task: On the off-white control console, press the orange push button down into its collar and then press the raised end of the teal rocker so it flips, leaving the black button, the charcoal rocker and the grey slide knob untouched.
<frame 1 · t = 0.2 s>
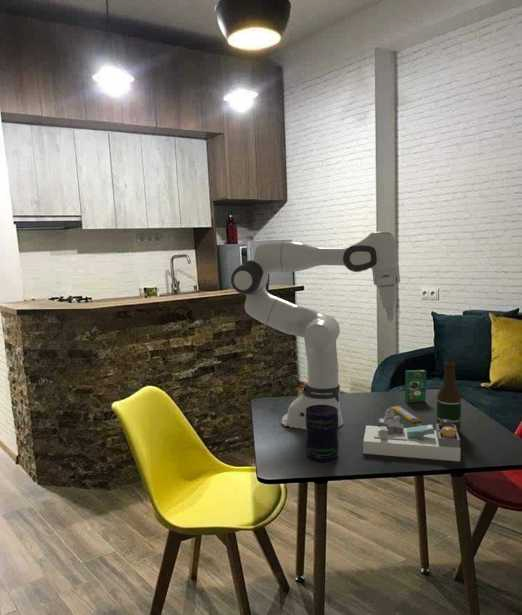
hand: (390, 318, 172), 39 cm above the table, tool pointing down, fingers open, 8 cm apart
beer bottle: (448, 431, 171), on the table
button orange: (448, 432, 150), point 7 cm above the table, slide at 0.0 cm
candy bar: (405, 417, 188), on the table
button black: (446, 424, 157), point 7 cm above the table, slide at 0.0 cm
storage jar: (322, 457, 153), on the table
console: (410, 448, 157), on the table
rocker teal: (420, 430, 156), point 6 cm above the table, hinge at -12.0°
grey rounded piece: (391, 427, 176), on the table
rocker charcoal: (390, 425, 161), point 6 cm above the table, hinge at 12.0°
coffee box: (415, 402, 204), on the table
slide knob: (383, 432, 155), point 6 cm above the table, slide at 0.0 cm
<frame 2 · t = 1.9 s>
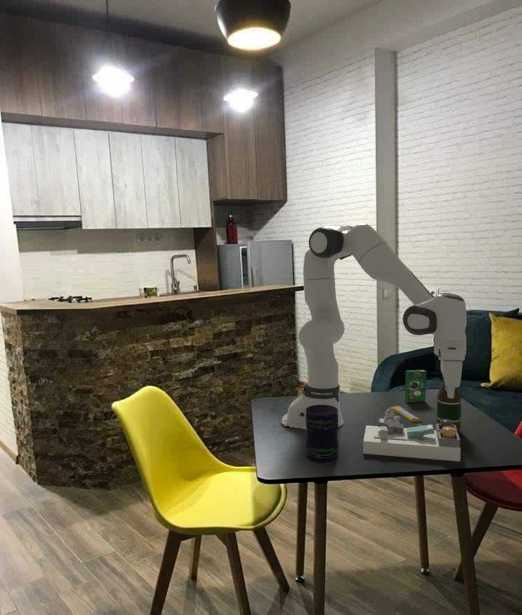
hand: (449, 393, 149), 19 cm above the table, tool pointing down, fingers open, 6 cm apart
nothing on the table moved.
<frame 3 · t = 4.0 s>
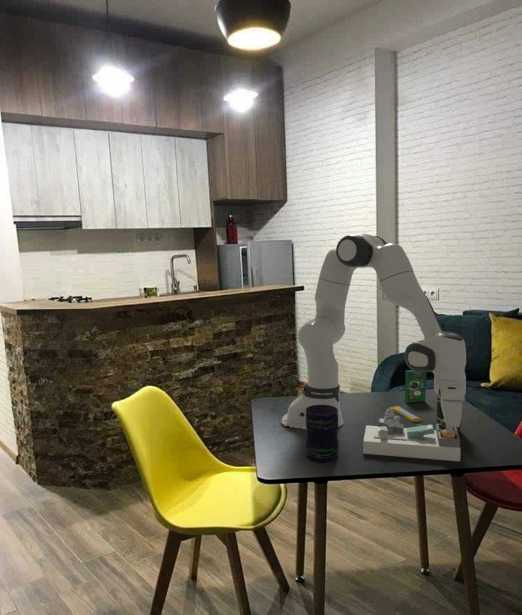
hand: (449, 431, 150), 8 cm above the table, tool pointing down, fingers closed, pressing on button orange
button orange: (448, 435, 150), point 6 cm above the table, slide at 0.9 cm, touching gripper
everything else where it was.
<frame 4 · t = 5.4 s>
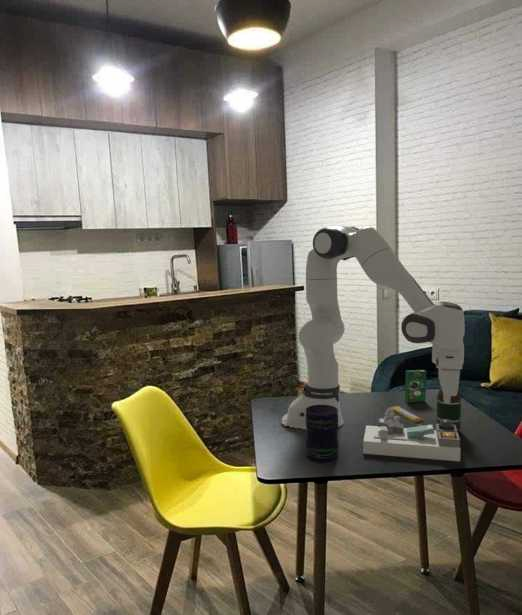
hand: (446, 402, 150), 17 cm above the table, tool pointing down, fingers closed
button orange: (448, 438, 150), point 6 cm above the table, slide at 1.7 cm
everything else where it was.
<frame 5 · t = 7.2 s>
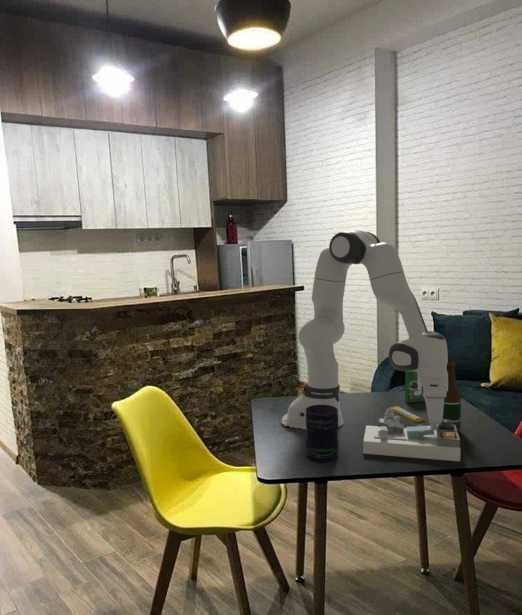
hand: (433, 427, 155), 7 cm above the table, tool pointing down, fingers closed, pressing on rocker teal
rocker teal: (420, 430, 156), point 6 cm above the table, hinge at -7.3°, touching gripper
everything else where it was.
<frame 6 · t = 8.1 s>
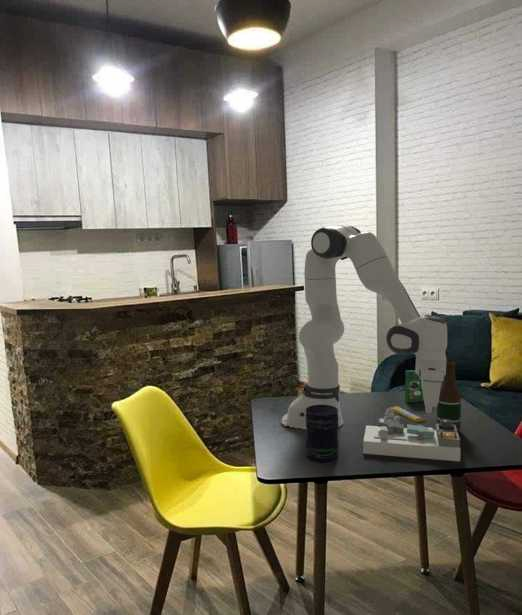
hand: (428, 411, 155), 12 cm above the table, tool pointing down, fingers closed
rocker teal: (420, 430, 156), point 6 cm above the table, hinge at 5.1°
everything else where it was.
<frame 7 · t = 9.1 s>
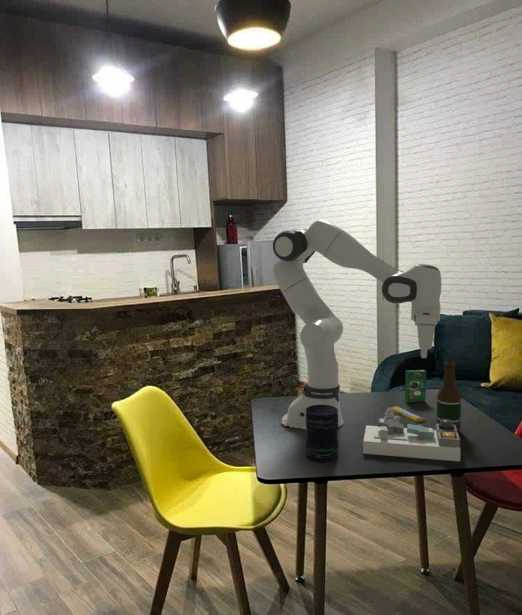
hand: (423, 357, 162), 28 cm above the table, tool pointing down, fingers closed
rocker teal: (420, 430, 156), point 6 cm above the table, hinge at 8.1°
everything else where it was.
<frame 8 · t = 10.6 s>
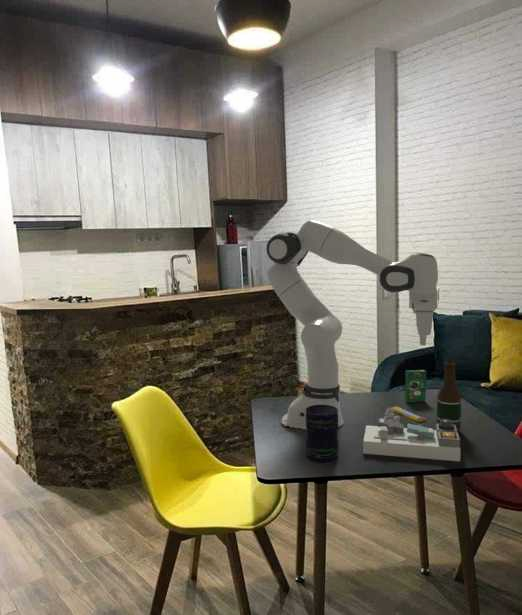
hand: (422, 344, 164), 31 cm above the table, tool pointing down, fingers closed
rocker teal: (420, 430, 156), point 6 cm above the table, hinge at 9.6°
at the end: button orange slide at 1.7 cm; rocker teal at +10° (first picture: -12°); button black slide at 0.0 cm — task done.
